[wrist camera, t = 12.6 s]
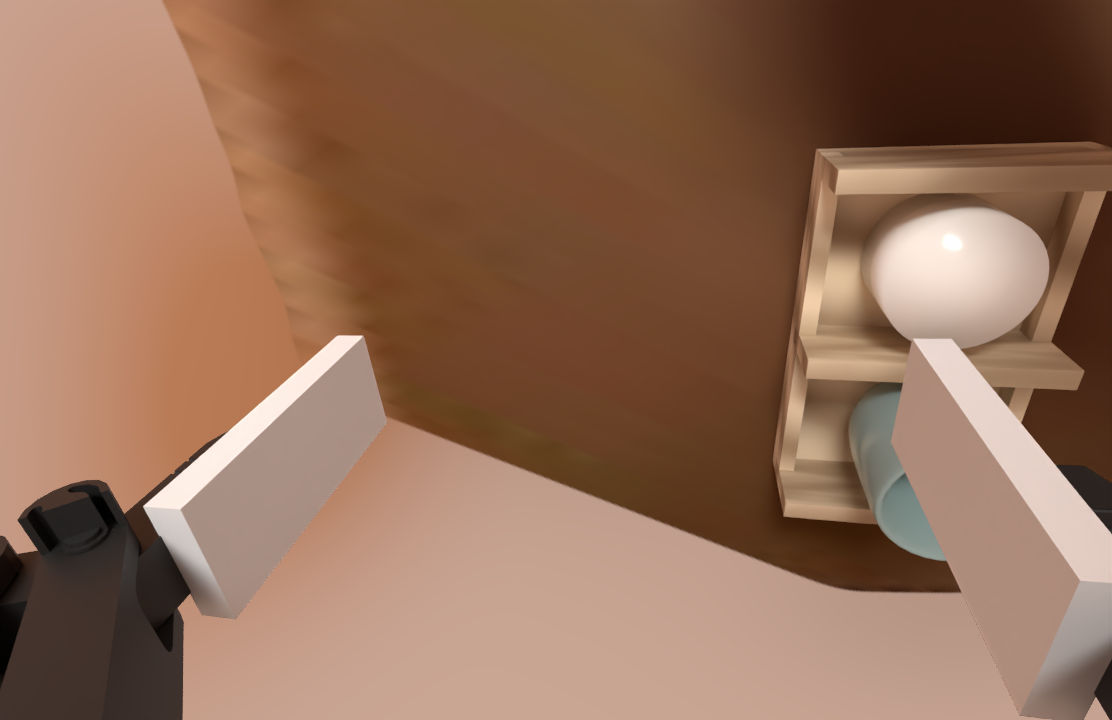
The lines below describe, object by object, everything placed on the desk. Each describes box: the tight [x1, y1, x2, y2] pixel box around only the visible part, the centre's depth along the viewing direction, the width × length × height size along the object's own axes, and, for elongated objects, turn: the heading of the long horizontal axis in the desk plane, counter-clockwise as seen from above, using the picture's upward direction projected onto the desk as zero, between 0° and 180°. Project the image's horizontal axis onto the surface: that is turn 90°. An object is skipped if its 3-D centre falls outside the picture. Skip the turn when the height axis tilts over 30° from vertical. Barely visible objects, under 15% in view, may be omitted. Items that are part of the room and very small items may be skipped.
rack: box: [773, 142, 1112, 525], centre depth 37 cm, size 23×14×6 cm, turn 3°
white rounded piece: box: [861, 193, 1049, 349], centre depth 34 cm, size 8×8×5 cm
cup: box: [848, 382, 947, 561], centre depth 37 cm, size 8×8×10 cm
